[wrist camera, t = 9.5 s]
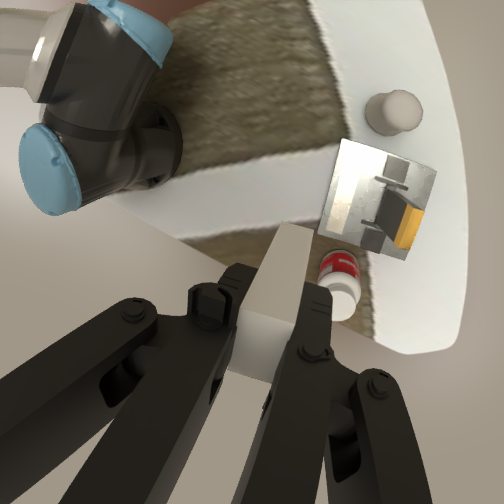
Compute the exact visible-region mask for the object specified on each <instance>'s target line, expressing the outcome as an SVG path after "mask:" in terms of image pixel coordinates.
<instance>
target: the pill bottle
mask: <svg viewBox="0 0 504 504" xmlns="http://www.w3.org/2000/svg"><path fill="white" fill-rule="evenodd" d="M317 285H319V286H323V287H326V288H328V289H329V291H330V293H331V295H332V296H333V307H332V321H343V320H346V319H348V318H349V317H351V316H352V315H353V313H354V311H355V308H356V304H357V303H358V301H359V299H360V295H361V287H360V272H359V264H358V261H357V259H356V258H355V257H354V255H352V254H351V253H350V252H348V251H345V250H335V251H332V252H330V253H328V254H327V255H326V256H325V257H324V258H323V260H322V262H321V266H320V271H319V277H318V282H317Z"/></svg>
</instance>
